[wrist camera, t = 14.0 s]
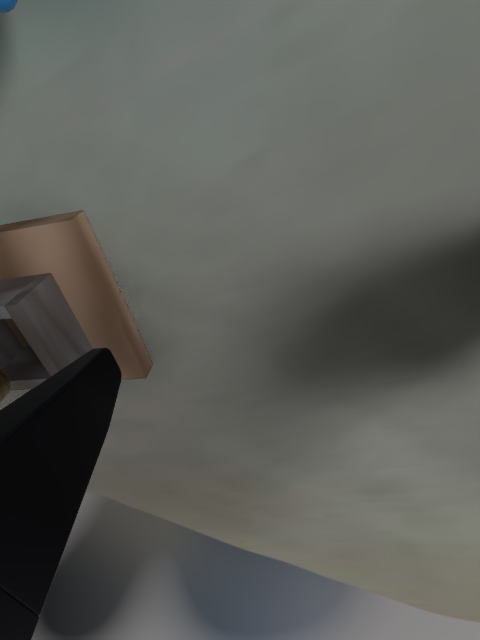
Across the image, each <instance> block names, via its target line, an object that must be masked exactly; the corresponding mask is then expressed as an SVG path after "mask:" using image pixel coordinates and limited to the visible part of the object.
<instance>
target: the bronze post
mask: <svg viewBox="0 0 480 640" xmlns="http://www.w3.org/2000/svg"><path fill="white" fill-rule="evenodd" d="M10 389H11V383H10V380H9V378H8V376H7V374H6V373H5V372H4V371H3V369H2V368H1V367H0V402H1V401H2V400H3V399H4V398H5V396H6V395H7V394H8V393H9V391H10Z"/></svg>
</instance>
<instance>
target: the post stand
mask: <svg viewBox="0 0 480 640" xmlns="http://www.w3.org/2000/svg"><path fill="white" fill-rule="evenodd" d="M94 348H108V349H110V350H111V352H112V354H113V356H114V358H115V360H116V362H117V364H118V365H119V367H120V369H121V374H122V378H121V380H127V379H144V378H147V376H148V374H149V371H150V369H151V367H152V365H153V363H152V361H151V359H150V357H149V354H148V352H147V350H146V348H145V346H144V343H143V341H142V339H141V337H140V334H139V332H138V330H137V328H136V326H135V323H134V321H133V319H132V317H131V315H130V312H129V310H128V308H127V306H126V303H125V301H124V299H123V297H122V295H121V292H120V290H119V288H118V286H117V283H116V281H115V279H114V277H113V275H112V272H111V270H110V268H109V266H108V263H107V261H106V259H105V257H104V255H103V252H102V250H101V248H100V246H99V243H98V241H97V239H96V237H95V235H94V232H93V230H92V228H91V226H90V224H89V221H88V219H87V217H86V215H85V212H84V210H83V211H78V212H72V213H66V214H61V215H55V216H50V217H44V218H38V219H33V220H27V221H22V222H16V223H11V224H5V225H0V367H1V368H2V369H3V371H4V372H5V373H6V374H7V376H8V378H9V380H10V383H11V389H10V390H25V389H33V388H34V387H36V386H37V385H39V384H40V383H42V382H43V381H45V380H46V379H48V378H49V377H51V376H52V375H54V374H55V373H57V372H58V371H60V370H61V369H63V368H64V367H66V366H67V365H69V364H70V363H72V362H73V361H75V360H76V359H78V358H79V357H81V356H82V355H84V354H85V353H87V352H88V351H90V350H91V349H94Z"/></svg>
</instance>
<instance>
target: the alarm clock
mask: <svg viewBox="0 0 480 640" xmlns="http://www.w3.org/2000/svg"><path fill="white" fill-rule="evenodd" d="M16 3H17V0H0V13H2V12H9V11H10V10H12V9H13V8H14V7H15V5H16Z"/></svg>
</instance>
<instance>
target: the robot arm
mask: <svg viewBox="0 0 480 640" xmlns="http://www.w3.org/2000/svg"><path fill="white" fill-rule="evenodd" d="M121 378H122V374H121V369H120V367H119V365H118V364H117V362H116V360H115V358H114V356H113V354H112V352H111V350H110V349H108V348H94V349H91V350H90V351H88V352H87V353H85V354H84V355H82V356H81V357H79V358H78V359H76V360H75V361H73V362H72V363H70V364H69V365H67V366H66V367H64V368H63V369H61V370H60V371H58V372H57V373H55V374H54V375H52V376H51V377H49V378H48V379H46V380H45V381H43V382H42V383H40V384H39V385H37V386H36V387H34V388H33V389H31V390H30V391H28V392H27V393H25V394H24V395H22V396H21V397H19V398H18V399H16V400H15V401H13V402H12V403H11V404H9V405H8V406H6V407H5V408H3V409H2V410H0V640H31V638H32V636H33V633H34V630H35V628H36V625H37V622H38V619H39V615H40V613H41V611H42V608H43V605H44V603H45V600H46V597H47V594H48V592H49V589H50V586H51V584H52V581H53V578H54V575H55V573H56V570H57V567H58V565H59V562H60V559H61V556H62V554H63V551H64V548H65V546H66V543H67V540H68V538H69V535H70V532H71V529H72V527H73V524H74V521H75V519H76V516H77V513H78V510H79V508H80V505H81V502H82V500H83V497H84V494H85V492H86V489H87V486H88V484H89V481H90V478H91V475H92V473H93V470H94V467H95V465H96V462H97V459H98V456H99V454H100V451H101V448H102V446H103V443H104V440H105V438H106V435H107V432H108V429H109V425H110V422H111V418H112V414H113V410H114V406H115V402H116V398H117V394H118V390H119V386H120V383H121Z"/></svg>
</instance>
